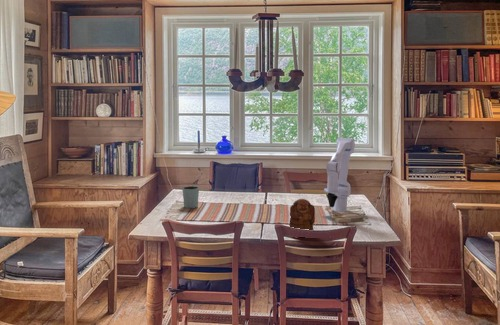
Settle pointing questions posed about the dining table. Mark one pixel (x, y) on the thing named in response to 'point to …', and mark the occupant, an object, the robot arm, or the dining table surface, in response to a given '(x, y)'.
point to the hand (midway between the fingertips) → (331, 206)
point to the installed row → (352, 216)
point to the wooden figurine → (302, 214)
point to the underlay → (335, 221)
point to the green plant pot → (190, 196)
